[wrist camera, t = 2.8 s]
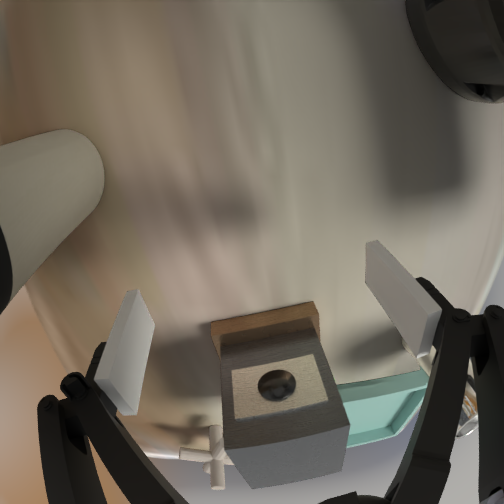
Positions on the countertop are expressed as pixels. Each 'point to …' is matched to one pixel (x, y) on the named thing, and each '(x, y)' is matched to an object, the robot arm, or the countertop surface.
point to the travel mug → (43, 200)
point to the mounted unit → (279, 397)
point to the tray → (381, 406)
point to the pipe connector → (211, 457)
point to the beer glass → (469, 406)
